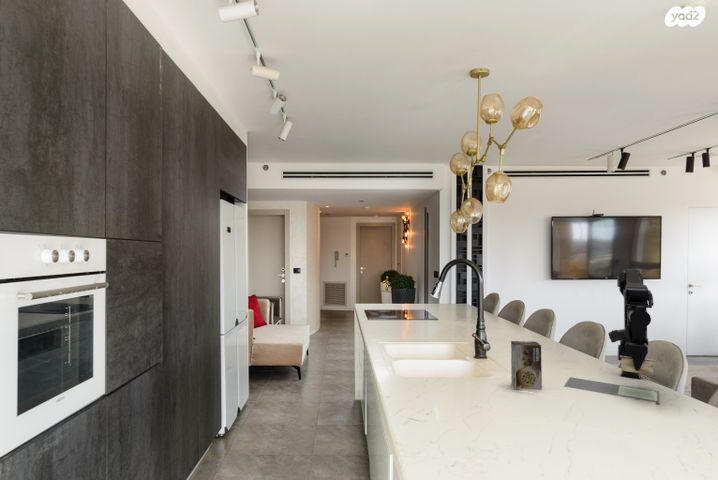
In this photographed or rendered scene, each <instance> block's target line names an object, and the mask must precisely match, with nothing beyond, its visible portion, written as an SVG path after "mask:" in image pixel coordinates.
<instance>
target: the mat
mask: <svg viewBox="0 0 718 480" xmlns="http://www.w3.org/2000/svg"><path fill="white" fill-rule="evenodd" d="M563 387H565V388H571V389H576V390H581V391H586V392H587V391H588V392H593V393H600V394H606V395H611V396H616V397H622V398H626V399H627V398H628V399H634V400H641V401H645V402H651V403H655V405H658V406H660V391H659V390H651V389H647V388H641V387H634V386H628V385H622V384H621V385H620V384H615V383H609V382H603V381H602V382H601V381H597V380H596V381H595V380H591V379H584V378H578V377H573V376H569V378H568V379H567V381H566V383H565V384H564V385H563Z"/></svg>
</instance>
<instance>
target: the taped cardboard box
mask: <svg viewBox="0 0 718 480" xmlns="http://www.w3.org/2000/svg"><path fill="white" fill-rule="evenodd" d="M621 357H622V358H621V360H620V363H621V364H620V365H621V366H620V367H621V372H622V371H628V372H635V373H639V374H641V375H642V374H643V375H651V376H654V360H653V359H648V358H645V359H644V361H643V363H642V366H641V368H640V370H639V371H637V370H635V367H634V363H633V359H632V357H627V356H621Z"/></svg>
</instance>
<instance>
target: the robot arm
mask: <svg viewBox="0 0 718 480" xmlns="http://www.w3.org/2000/svg"><path fill="white" fill-rule="evenodd" d="M616 280H617V288H618V289H619V292H620V294H621V295H622V297H623V315H624V317H623V321H624V322H623V325H624V326H623V328H621V329H613V330H611V331H609V332H608V337H609V338H608V339H610V342H611V343H616V342H619V344H617V359H618V361H621V358H622V356H627V357H632V359H633V363H634V367H635V370H637V371H639V370H640V368H641V366H642V363H643V361H644V359H646V357H647V355H648V354H649V338H648V326H649V325H650V323H652V322H651V321H652V318H651V315H650V314H649V312H648V310H647V309H652V308H653V306H654V297H653V293H652V291H651V290H649V288H648V286H647V285H645V284H644V275H643V274H642V273H640V270H639V269H637V268H636V269H633V268H632V269H629V268H627V269H623V272H621V273H619V274H618V275H617V279H616ZM641 375H642V374H641V373H635V372H628V371H622V370H621V372H620V376H619V377H622V378H628V379H636V380H641Z"/></svg>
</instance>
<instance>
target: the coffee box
mask: <svg viewBox="0 0 718 480" xmlns="http://www.w3.org/2000/svg"><path fill="white" fill-rule="evenodd" d="M510 343H511V344H510V353H511V354H510V355H511V356H510V357H511V358H510V361H511V375H510V376H511V377H510V378H511V386H512V387H513V389H514V390H515V391H521V390H538V391H539V390H541V391H542V389H543V384H542V383H543V379H542V377H543V376H542V371H543V370H542V345H541V344H540V343H538V341H535V340H534V341H530V340H529V341H527V340H526V341H525V340H524V341H521V340H520V341H519V340H511V341H510Z"/></svg>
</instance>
